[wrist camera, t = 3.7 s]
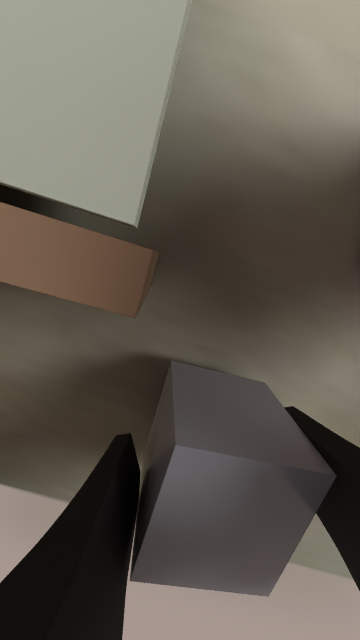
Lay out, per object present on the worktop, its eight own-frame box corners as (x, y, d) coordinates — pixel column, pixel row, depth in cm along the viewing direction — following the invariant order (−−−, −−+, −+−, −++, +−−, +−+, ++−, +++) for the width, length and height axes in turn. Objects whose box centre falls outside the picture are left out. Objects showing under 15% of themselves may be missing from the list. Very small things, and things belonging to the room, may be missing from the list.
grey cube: (264, 382, 11) (336, 475, 6) (229, 466, 12) (268, 596, 8) (171, 360, 10) (175, 444, 6) (144, 450, 12) (129, 580, 7)
